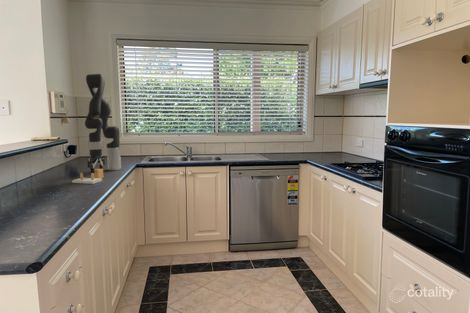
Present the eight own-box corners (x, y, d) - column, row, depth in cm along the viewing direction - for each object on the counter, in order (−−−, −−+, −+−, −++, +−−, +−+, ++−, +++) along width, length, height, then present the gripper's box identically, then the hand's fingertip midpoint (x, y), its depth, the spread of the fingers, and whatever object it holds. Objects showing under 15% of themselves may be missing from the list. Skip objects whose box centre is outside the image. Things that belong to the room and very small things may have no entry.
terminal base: (82, 179, 209) (81, 171, 209) (102, 180, 206) (101, 172, 205) (72, 182, 201) (71, 174, 200) (92, 183, 197) (92, 175, 196)
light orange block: (97, 177, 217) (96, 168, 217) (103, 177, 216) (102, 168, 215) (92, 178, 213) (91, 169, 212) (98, 179, 211) (98, 170, 211)
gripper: (97, 147, 219) (99, 170, 221) (83, 149, 206) (84, 174, 208) (107, 147, 218) (108, 171, 220) (93, 149, 204) (94, 174, 206)
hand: (97, 172), depth 214 cm, fingers open, 8 cm apart
